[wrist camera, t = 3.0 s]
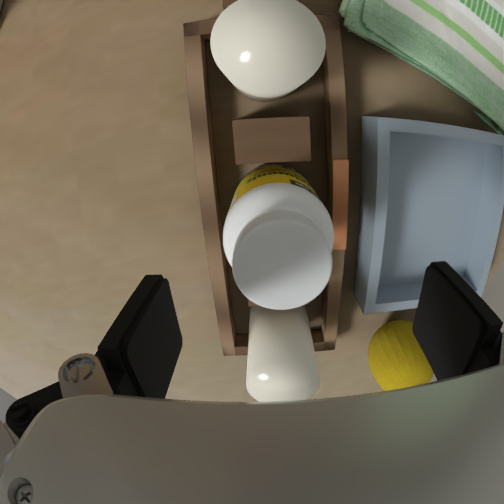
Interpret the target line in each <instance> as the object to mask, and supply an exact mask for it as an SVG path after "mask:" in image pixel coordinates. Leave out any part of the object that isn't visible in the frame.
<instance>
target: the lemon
mask: <svg viewBox="0 0 504 504" xmlns="http://www.w3.org/2000/svg"><path fill="white" fill-rule="evenodd" d="M412 326H413V322H410V321H407V320H394V321H391V322H388V323H386V324H384V325H383V326H382V327H380V328H379V329H378V330H377V331H376V333H375V334H374V336H373V337H372V339H371V341H370V345H369V349H368V359H369V366H370V369H371V372H372V374H373V376H374V378H375V380H376V381H377V383H378V384H379V385H380V386H381V388H382V389H384V390H385V391H388V390H394V389H400V388H405V387H411V386H416V385H421V384H426V383H429V382H430V380H431V378H432V376H433V374H434V372H433V370H432V368H431V366H430V364H429V362H428V360H427V359H426V357H425V355H424V353H423V351H422V349H421V347H420V345H419V343H418V342H417V340H416V338H415V336H414V334H413V330H412Z"/></svg>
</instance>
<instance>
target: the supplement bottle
mask: <svg viewBox="0 0 504 504" xmlns="http://www.w3.org/2000/svg"><path fill="white" fill-rule="evenodd" d="M333 244H334V229H333V224H332V220H331V218H330V215H329V213H328V211H327V209H326V207H325V206H324V204H323V203H322V201H321V200H320V198H319V197H318V196H317V194H316V193H315V191H314V190H313V188H312V187H311V185H310V184H309V182H308V181H307V180H306V179H305V178H304V177H303V176H302V175H301V174H300V173H299V172H298V171H296V170H294V169H293V168H290V167H288V166H285V165H280V164H268V165H263V166H260V167H258V168H255V169H254V170H252V171H251V172H249V173H248V174H247V175H246V176H245V177H244V178H243V179H242V180H241V182H240V183H239V185H238V187H237V189H236V191H235V194H234V197H233V200H232V203H231V205H230V208H229V211H228V214H227V216H226V220H225V224H224V229H223V247H224V251H225V254H226V257H227V259H228V262H229V263H230V265H231V267H232V272H233V277H234V280H235V282H236V284H237V286H238V288H239V289H240V291H241V292H242V293H243V294H244V295H245V296H246V297H247V298H248V299H249V300H251V301H252V302H254V303H256V304H257V305H260V306H262V307H265V308H270V309H276V310H286V309H292V308H296V307H300V306H302V305H305V304H306V303H308V302H310V301H312V300H313V299H314V298H316V297H317V296H318V295H319V294H320V293H321V292H322V290H323V289H324V288H325V286H326V285H327V283H328V281H329V279H330V276H331V272H332V254H331V252H332V249H333Z"/></svg>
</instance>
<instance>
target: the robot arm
mask: <svg viewBox="0 0 504 504" xmlns="http://www.w3.org/2000/svg"><path fill="white" fill-rule="evenodd" d="M2 3H3V0H0V12H1V7H2ZM502 325H503V322H502V321H501V320H500V319H499V318H498V316H497V315H496V314H495V313H494V312H493V311H492V309H491V308H490V307H489V306H488V305H487V304H486V303H485V302H484V300H483V299H482V298H481V297H480V296H479V295H478V294H477V293H476V292H475V291H474V290H473V289H472V287H471V286H470V285H469V284H468V283H467V282H466V281H465V280H464V279H463V278H462V277H461V276H460V275H459V274H458V273H457V272H456V271H455V270H454V269H453V268H452V267H451V266H450V265H449V264H448V263H447V262H446V261H438V262H431V263H430V265H429V266H427V268H426V270H425V275H424V280H423V284H422V289H421V293H420V298H419V302H418V306H417V310H416V314H415V318H414V322H413V326H412V330H413V334H414V336H415V338H416V340H417V342H418V343H419V345H420V347H421V349H422V351H423V353H424V355H425V357H426V359H427V360H428V362H429V364H430V366H431V368H432V370H433V372H434V374H435V376H436V378H437V380H438V381H435V382H431V383H426V384H421V385H416V386H411V387H405V388H400V389H394V390H388V391H382V392H375V393H368V394H361V395H353V396H345V397H335V398H325V399H313V400H298V401H276V402H212V401H190V400H174V399H165V396H166V393H167V390H168V387H169V384H170V381H171V378H172V375H173V372H174V369H175V366H176V363H177V360H178V357H179V354H180V351H181V348H182V335H181V332H180V328H179V324H178V320H177V316H176V312H175V308H174V303H173V299H172V295H171V291H170V286H169V282H168V280H167V279H166V278H165V279H164V278H163V276H162V275H146V276H145V277H144V278H143V279H142V281H141V282H140V284H139V285H138V287H137V288H136V290H135V291H134V292H133V294H132V295H131V297H130V298H129V300H128V301H127V303H126V304H125V306H124V307H123V309H122V310H121V312H120V313H119V315H118V316H117V318H116V319H115V321H114V323H113V324H112V326H111V327H110V329H109V330H108V332H107V333H106V335H105V337H104V338H103V340H102V341H101V343H100V345H99V346H98V351H97V352H96V354H95V356H94V355H93V354H88V353H84V354H78V355H75V356H73V357H71V358H69V359H68V360H66V361H65V362H64V363H63V364H62V366H61V367H60V369H59V372H58V378H59V382H57V383H54V384H52V385H50V386H48V387H45V388H43V389H41V390H39V391H36V392H34V393H32V394H30V395H27V396H25V397H23V398H20V399H18V400H17V401H15V402H14V403H13V404H12V405H11V406H10V407H9V409H8V410H7V413H6V422H5V423H3V422H2V421H0V504H504V332H503V334H502V333H501V331H500V329H501V327H502Z"/></svg>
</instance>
